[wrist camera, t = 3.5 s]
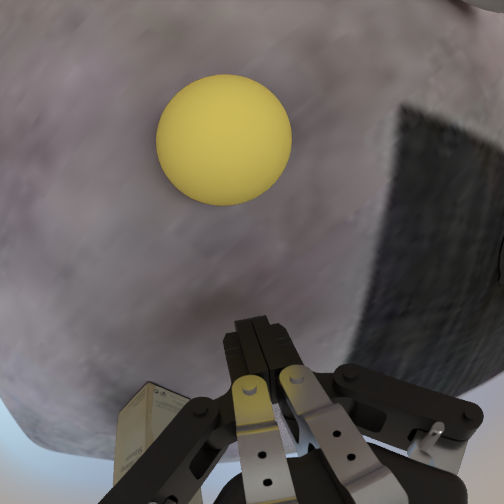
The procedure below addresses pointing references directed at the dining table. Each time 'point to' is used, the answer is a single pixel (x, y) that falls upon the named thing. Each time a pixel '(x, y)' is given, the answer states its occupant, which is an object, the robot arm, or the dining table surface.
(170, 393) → the skincare box
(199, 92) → the ball
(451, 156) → the dining table surface
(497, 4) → the donut
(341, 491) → the robot arm
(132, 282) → the dining table surface
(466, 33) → the dining table surface
